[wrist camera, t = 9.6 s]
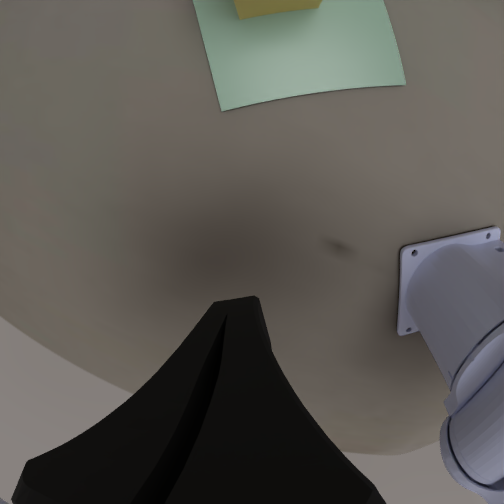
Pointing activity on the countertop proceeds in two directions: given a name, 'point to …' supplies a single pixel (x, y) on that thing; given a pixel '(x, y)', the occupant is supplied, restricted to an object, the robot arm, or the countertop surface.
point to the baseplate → (298, 50)
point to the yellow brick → (271, 6)
